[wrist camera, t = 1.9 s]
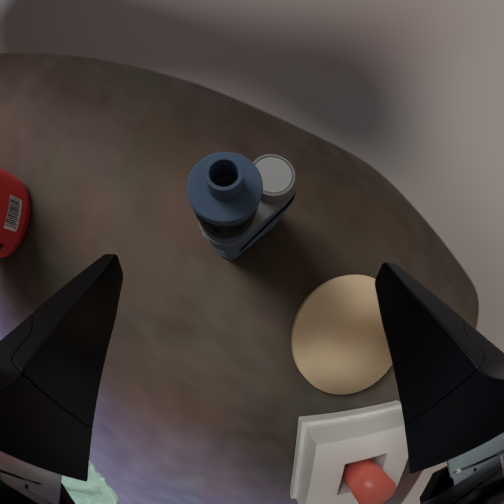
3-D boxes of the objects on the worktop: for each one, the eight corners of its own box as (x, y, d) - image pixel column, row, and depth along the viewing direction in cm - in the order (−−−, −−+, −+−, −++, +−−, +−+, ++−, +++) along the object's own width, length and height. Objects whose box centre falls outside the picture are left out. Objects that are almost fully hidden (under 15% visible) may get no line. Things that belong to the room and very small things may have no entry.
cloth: (127, 533, 14) (122, 544, 12) (-7, 454, 13) (-16, 460, 11) (125, 414, 17) (114, 426, 15) (-27, 326, 16) (-41, 327, 14)
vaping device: (202, 240, 19) (159, 168, 7) (259, 194, 20) (293, 82, 8) (226, 269, 19) (217, 238, 7) (282, 221, 19) (349, 133, 8)
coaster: (390, 381, 18) (397, 384, 18) (287, 395, 18) (290, 400, 17) (397, 275, 20) (404, 274, 19) (291, 274, 19) (295, 273, 18)
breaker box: (377, 474, 17) (396, 494, 13) (289, 492, 17) (298, 519, 13) (396, 400, 18) (422, 415, 14) (298, 416, 18) (312, 441, 14)
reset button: (367, 473, 15) (390, 501, 10) (336, 480, 15) (356, 513, 10) (373, 449, 15) (401, 476, 11) (342, 457, 15) (365, 488, 11)
